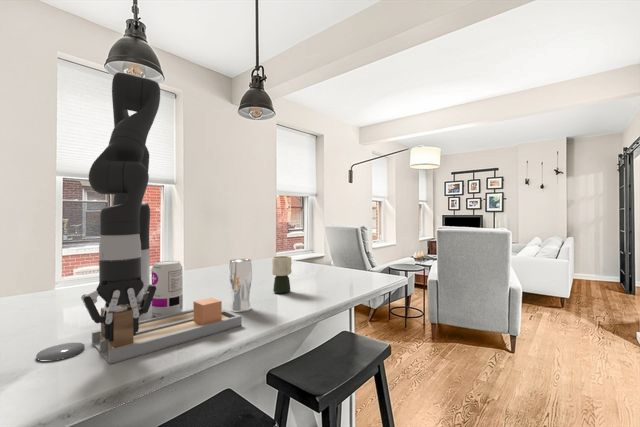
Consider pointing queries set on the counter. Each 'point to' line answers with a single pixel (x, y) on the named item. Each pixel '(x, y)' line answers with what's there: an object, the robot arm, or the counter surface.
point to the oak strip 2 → (125, 334)
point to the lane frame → (165, 340)
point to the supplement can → (167, 288)
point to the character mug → (281, 273)
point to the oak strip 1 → (154, 323)
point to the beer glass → (240, 284)
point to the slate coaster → (60, 351)
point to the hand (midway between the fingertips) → (121, 337)
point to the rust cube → (207, 311)
